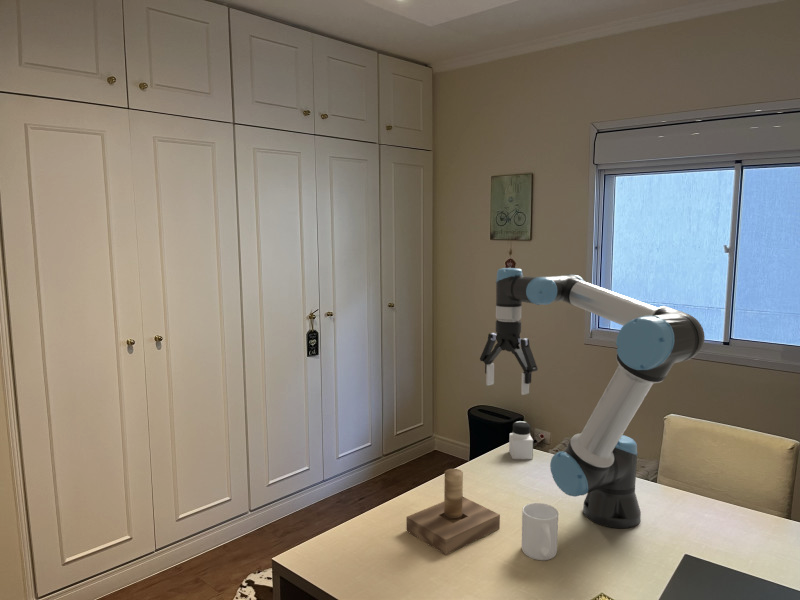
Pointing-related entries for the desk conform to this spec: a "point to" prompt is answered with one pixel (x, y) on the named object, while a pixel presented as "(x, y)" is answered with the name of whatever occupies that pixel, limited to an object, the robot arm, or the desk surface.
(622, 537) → the desk surface
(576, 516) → the desk surface
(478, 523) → the seat board
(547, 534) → the mug
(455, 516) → the oak leg
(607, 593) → the desk surface
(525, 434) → the medicine bottle
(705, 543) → the desk surface
